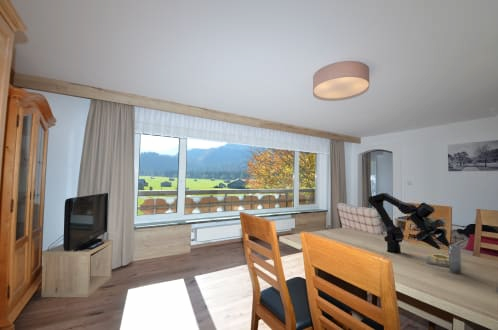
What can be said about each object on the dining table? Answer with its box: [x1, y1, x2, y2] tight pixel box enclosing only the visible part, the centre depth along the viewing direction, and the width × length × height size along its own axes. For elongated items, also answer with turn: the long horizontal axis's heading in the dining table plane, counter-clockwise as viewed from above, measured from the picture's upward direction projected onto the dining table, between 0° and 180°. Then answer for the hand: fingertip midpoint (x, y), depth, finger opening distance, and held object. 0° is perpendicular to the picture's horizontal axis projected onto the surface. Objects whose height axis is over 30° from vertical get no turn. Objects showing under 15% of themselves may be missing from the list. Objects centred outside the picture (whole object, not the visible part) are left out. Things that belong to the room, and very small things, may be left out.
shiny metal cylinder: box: [447, 244, 463, 275], centre depth 108 cm, size 4×4×13 cm
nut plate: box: [426, 253, 449, 269], centre depth 120 cm, size 12×12×4 cm
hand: (445, 248), depth 112 cm, fingers open, 9 cm apart
